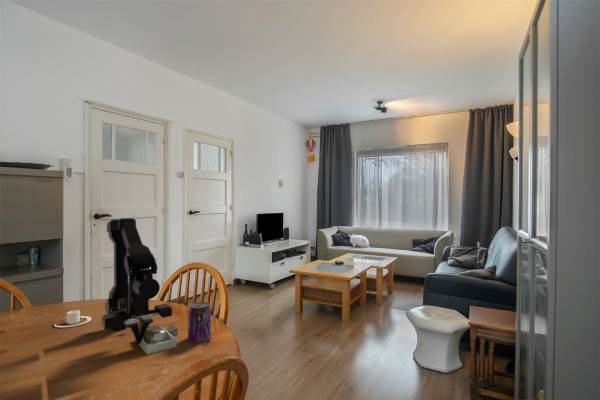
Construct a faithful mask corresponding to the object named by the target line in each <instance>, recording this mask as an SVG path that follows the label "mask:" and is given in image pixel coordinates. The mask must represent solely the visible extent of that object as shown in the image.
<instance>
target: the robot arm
mask: <svg viewBox="0 0 600 400" xmlns="http://www.w3.org/2000/svg"><path fill="white" fill-rule="evenodd" d="M106 233H108V238H109V240H110V241H111V242H112V243H113V286H112V288H111V289H110V291H109V292H108V298H107V300H106V303H105V306H104V314H103V316H102V317H101V325H102V327H103V329H104V330H112V331H124V330H126V329H128V328H129V329H130V330H131V333H132V336H133V337H134V338H133V339H134V340H135V344H136V345H139V344H140V342H141V340H142V338H143V336H144V333H145V331H146V329H147V328H148V326H150V324H151V323H154V319H153V317H154V316H157V315H159V316H160V317H161V318H162V319H163V318H168V317H169V318H170V317H172V316H173V308H172V307H171V306H170V305H168V304H167V303H162V304H157V305H155V306H154V308H153V309H150V300H152V299H154V298H155V297H156V296H157V295H158V294H159V291H160V289H161V286H160V284H159V281H158V280H156V279H154V275H157V274H158V271H157V270H158V263H157V261H156V258H155V257H154V254H153V253H152V251H151V249H150V248H149V247H148V246H147V245H145V244H143V242H142V239H141V237H140V234H139V231H138V228H137V221H136V219H135V218H133V217H131V218H129V217H126V218H125V217H124V218H123V217H122V218H119V219H117V218H115V219H114V218H113V219H111V220H110V221H108V222H107V223H106ZM137 319H138V322H137Z"/></svg>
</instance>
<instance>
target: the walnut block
mask: <svg viewBox="0 0 600 400" xmlns="http://www.w3.org/2000/svg"><path fill="white" fill-rule="evenodd" d="M161 328H162V327H160V325H159V324H157V323H156V324H152V325H149V326H148V328H147V329H146V331H145V333H144V340H145V341H146V342H147V343H151V331H153V330H155V329H161Z"/></svg>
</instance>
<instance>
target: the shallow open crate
mask: <svg viewBox="0 0 600 400" xmlns="http://www.w3.org/2000/svg"><path fill="white" fill-rule="evenodd" d="M161 329H165V342H161V343H157V344H153V345H151V343H147V342H146V341H145V340H144V336H143V338H142V340H141V342H140V344H138V345H139V346H140V348H141V349H142V351H143V353H144V352H145V354H146V355H150V354H151V355H154V353H157V352H161V351H166V350H169V349H170V350H173V349H174V348H177V338H176V337H175V336H173V335H172V334H171V333H169V332H168V329H166V328H165V327H161Z"/></svg>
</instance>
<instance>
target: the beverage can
mask: <svg viewBox="0 0 600 400" xmlns="http://www.w3.org/2000/svg"><path fill="white" fill-rule="evenodd" d="M187 319H188V321H187V322H188V323H187V325H188V326H187V340H188V342H189V343H194V344H197V343H198V344H199V343H204V342H205V343H206V342H208V341H210V340H211V338H212V336H211V335H212V331H211V328H212V327H211V326H212V309H211V307H210V303H209V302H207V301H198V302H193V303H191V304H190V305H189V309H188V317H187Z"/></svg>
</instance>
